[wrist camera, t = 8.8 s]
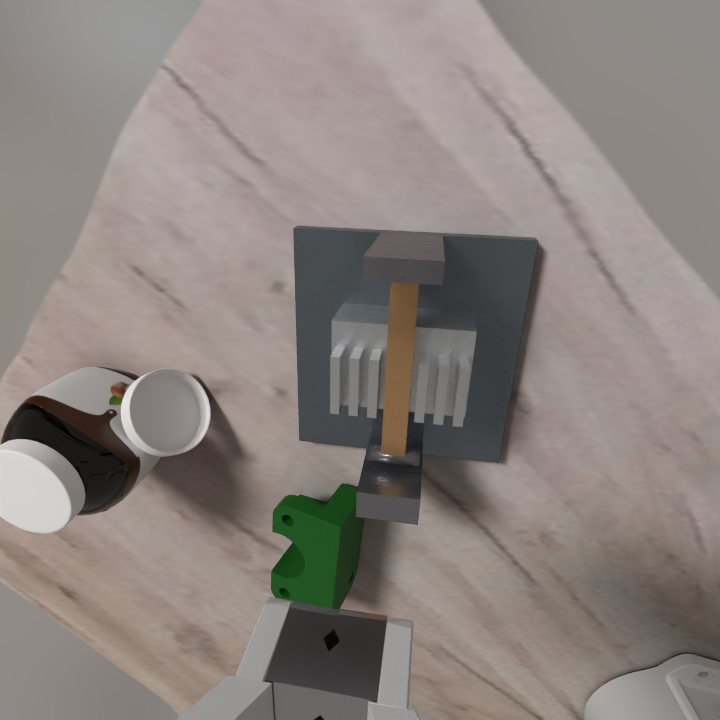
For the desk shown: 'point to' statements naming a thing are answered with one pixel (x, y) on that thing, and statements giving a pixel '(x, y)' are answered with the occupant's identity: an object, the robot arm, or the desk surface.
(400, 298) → the wooden handle
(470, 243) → the heatsink mount
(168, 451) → the chocolate spread jar
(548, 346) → the desk surface
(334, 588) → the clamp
